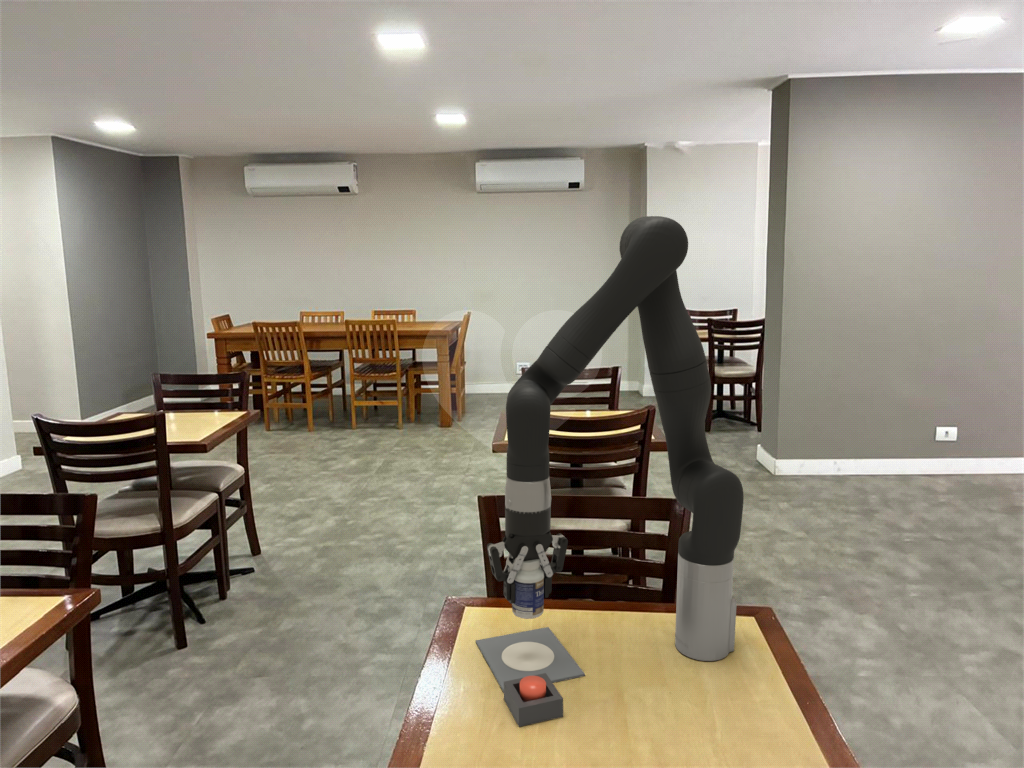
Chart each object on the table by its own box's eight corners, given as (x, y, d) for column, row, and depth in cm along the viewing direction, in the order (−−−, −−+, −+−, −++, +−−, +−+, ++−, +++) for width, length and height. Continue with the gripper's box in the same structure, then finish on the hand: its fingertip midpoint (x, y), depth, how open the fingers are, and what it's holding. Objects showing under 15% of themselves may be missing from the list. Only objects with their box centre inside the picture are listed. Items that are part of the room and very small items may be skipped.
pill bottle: (541, 621, 116) (541, 565, 114) (509, 618, 117) (509, 563, 115) (546, 606, 121) (546, 552, 119) (515, 603, 122) (515, 550, 120)
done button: (540, 685, 109) (540, 673, 109) (550, 700, 105) (550, 688, 105) (516, 690, 108) (515, 678, 107) (525, 705, 104) (524, 693, 104)
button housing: (545, 690, 111) (545, 672, 111) (563, 716, 105) (563, 698, 104) (503, 699, 109) (503, 681, 109) (518, 726, 102) (518, 708, 102)
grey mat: (548, 628, 130) (548, 626, 130) (584, 675, 115) (584, 673, 115) (475, 642, 125) (475, 639, 125) (503, 693, 111) (503, 690, 110)
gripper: (559, 491, 121) (558, 583, 124) (479, 500, 117) (480, 595, 119) (577, 504, 114) (575, 602, 117) (493, 515, 110) (493, 616, 112)
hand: (527, 598), depth 118 cm, fingers closed on pill bottle, 5 cm apart
